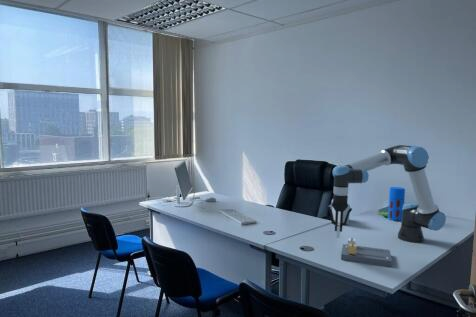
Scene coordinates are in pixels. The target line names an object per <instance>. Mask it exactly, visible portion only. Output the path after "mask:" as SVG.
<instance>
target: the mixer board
mask: <svg viewBox="0 0 476 317" xmlns="http://www.w3.org/2000/svg"><path fill="white" fill-rule="evenodd" d="M340 260H341V261H348V262H354V263H360V264H361V263H362V264H368V265H377V266H385V267H390V268H393V259H392V254H391V250H390V249H385V248H384V249H383V248H377V247H370V246H361V245H357V247H356V255H355V254H348V243H346V244H345V243H342V249H341V253H340Z"/></svg>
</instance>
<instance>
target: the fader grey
mask: <svg viewBox="0 0 476 317" xmlns="http://www.w3.org/2000/svg"><path fill="white" fill-rule="evenodd" d="M356 239H357V238H354V237H353V238H350V237H348V238H347V245H348V248H349V243H350V244H356Z"/></svg>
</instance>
